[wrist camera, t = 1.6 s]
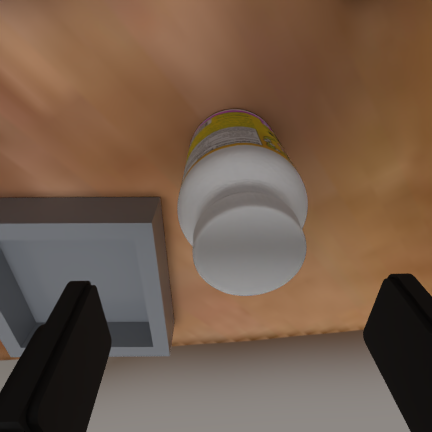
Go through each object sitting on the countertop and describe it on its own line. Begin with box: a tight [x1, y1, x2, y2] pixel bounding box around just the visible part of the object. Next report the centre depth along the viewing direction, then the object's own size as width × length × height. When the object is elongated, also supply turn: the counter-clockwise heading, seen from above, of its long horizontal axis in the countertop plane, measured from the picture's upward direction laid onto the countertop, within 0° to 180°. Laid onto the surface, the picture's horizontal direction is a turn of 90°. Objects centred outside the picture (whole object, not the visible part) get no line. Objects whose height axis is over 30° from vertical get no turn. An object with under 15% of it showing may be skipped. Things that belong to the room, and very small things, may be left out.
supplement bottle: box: [178, 109, 308, 296], centre depth 18 cm, size 7×7×13 cm
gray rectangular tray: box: [0, 197, 174, 357], centre depth 28 cm, size 16×16×4 cm
